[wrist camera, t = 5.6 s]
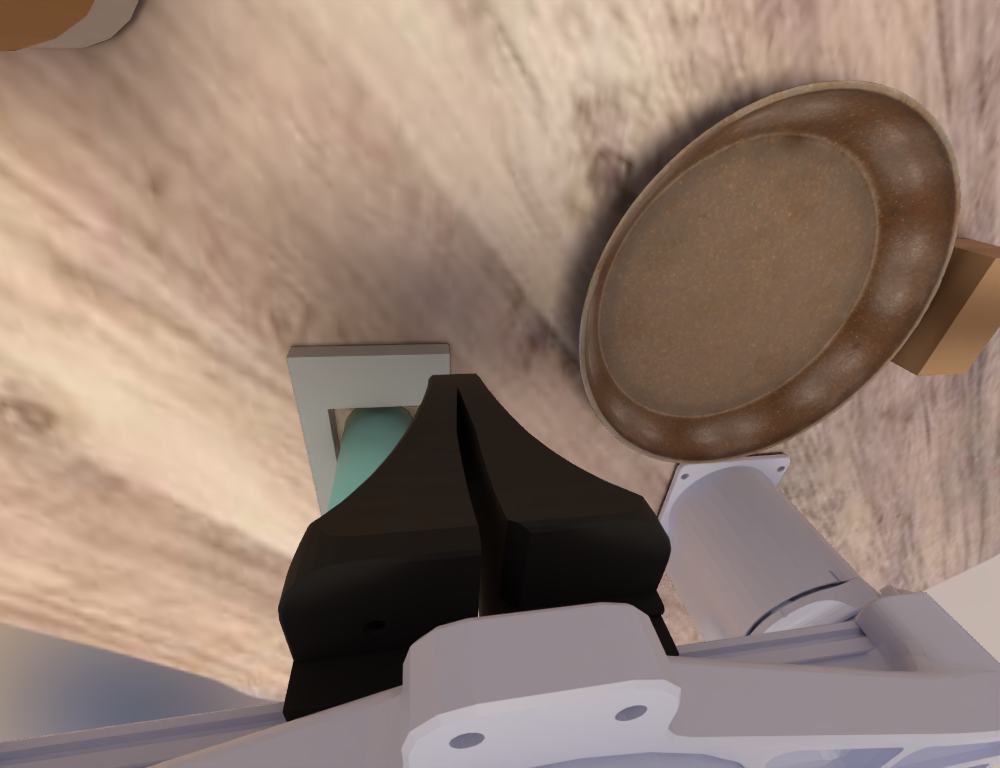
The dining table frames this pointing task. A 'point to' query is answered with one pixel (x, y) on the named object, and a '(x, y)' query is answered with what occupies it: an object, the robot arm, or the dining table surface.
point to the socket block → (354, 391)
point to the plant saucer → (769, 271)
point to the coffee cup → (61, 22)
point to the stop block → (957, 313)
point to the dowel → (366, 446)
